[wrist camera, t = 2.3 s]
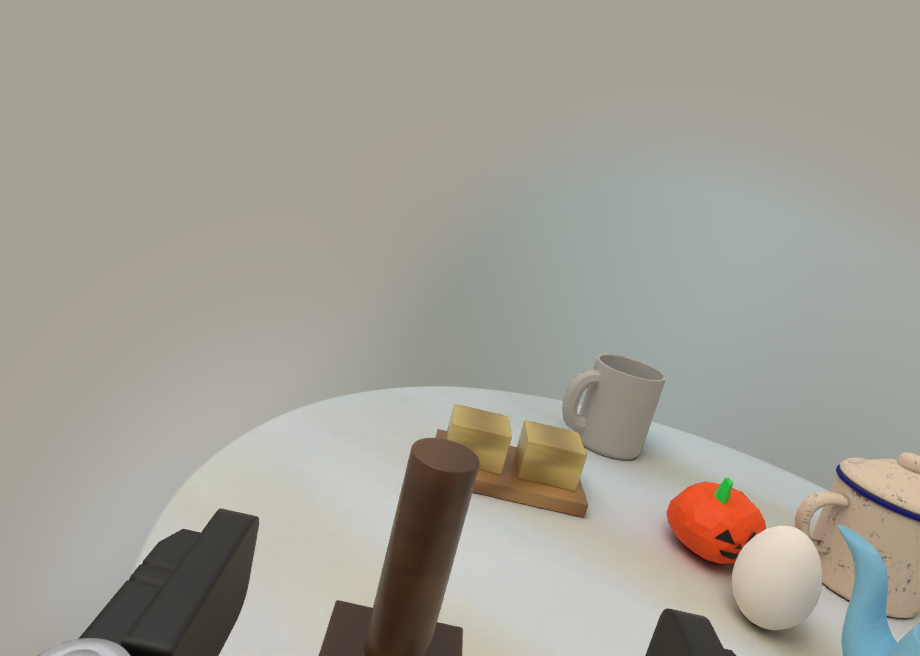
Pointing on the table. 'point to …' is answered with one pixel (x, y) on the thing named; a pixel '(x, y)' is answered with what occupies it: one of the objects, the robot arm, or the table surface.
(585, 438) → the cup
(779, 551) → the egg
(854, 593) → the teapot
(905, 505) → the teacup with lid
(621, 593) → the table surface
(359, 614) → the knife holder
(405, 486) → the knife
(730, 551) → the pumpkin
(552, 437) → the butter
